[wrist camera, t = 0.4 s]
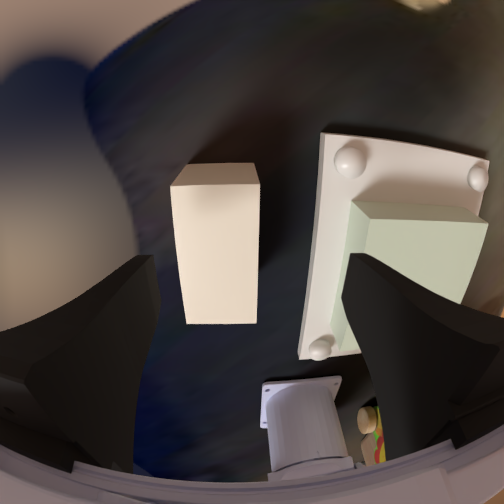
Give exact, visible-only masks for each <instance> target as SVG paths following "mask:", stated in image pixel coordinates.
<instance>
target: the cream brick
mask: <svg viewBox="0 0 504 504" xmlns="http://www.w3.org/2000/svg"><path fill="white" fill-rule="evenodd" d="M170 189H171V202H172V213H173V223H174V233H175V242H176V251H177V259H178V267H179V275H180V282H181V289H182V296H183V303H184V309H185V316H186V322H187V324H246V323H256V320H257V286H258V249H259V210H260V182H259V179H258V175H257V172H256V169H255V165H254V163H207V164H187V165H186V166H185V167H184V169H183V170H182V171H181V173H180V174H179V175H178V177H177V178H176V179H175V181H174V182H173V183H172V185H171V186H170Z"/></svg>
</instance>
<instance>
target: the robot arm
mask: <svg viewBox="0 0 504 504" xmlns="http://www.w3.org/2000/svg"><path fill="white" fill-rule="evenodd" d="M341 300H342V304H343V307H344V311H345V314H346V318H347V320H348V323H349V325H350V327H351V330H352V332H353V334H354V337H355V339H356V341H357V343H358V346H359V348H360V350H361V353H362V355H363V357H364V360H365V362H366V364H367V367H368V370H369V373H370V376H371V380H372V383H373V387H374V391H375V395H376V399H377V404H378V408H379V413H380V419H381V425H382V431H383V438H384V448H385V459H386V462H382V463H379V464H375V465H371V466H365V465H363V464H362V463H360V462H359V463H355V464H354V463H353V460H352V456H348V452H347V448H346V445H345V441H344V437H343V433H342V429H341V426H340V422H339V418H338V414H337V411H336V407H335V403H334V400H335V397H336V395H337V392H338V389H339V387H340V384H341V381H342V378H341V376H329V377H321V378H311V379H300V380H288V381H273V382H265V383H263V385H262V401H261V418H260V427H261V428H268V437H269V448H270V458H271V468H272V473H268V482H250V483H212V482H192V481H180V480H169V479H161V478H153V477H146V476H140V475H134V474H133V441H134V425H135V415H136V406H137V398H138V391H139V385H140V379H141V375H142V371H143V368H144V364H145V361H146V358H147V354H148V351H149V348H150V345H151V342H152V338H153V335H154V332H155V329H156V326H157V322H158V316H159V311H160V305H161V297H160V292H159V286H158V281H157V275H156V269H155V263H154V257H153V255H137V256H135V257H133V258H132V259H130V260H129V261H127V262H126V263H125V264H123V265H122V266H121V267H119V268H118V269H117V270H115V271H114V272H113V273H111V274H110V275H108V276H107V277H106V278H105V279H103V280H102V281H100V282H99V283H98V284H96V285H94V286H93V287H92V288H90V289H89V290H87V291H86V292H85V293H83V294H81V295H80V296H78V297H77V298H75V299H73V300H72V301H70V302H68V303H66V304H65V305H63V306H61V307H59V308H57V309H56V310H53V311H51V312H49V313H47V314H45V315H43V316H41V317H39V318H37V319H35V320H32V321H30V322H27V323H25V324H22V325H19V326H17V327H14V328H11V329H8V330H5V331H1V332H0V504H483V503H485V502H486V501H488V500H489V499H490V498H491V497H493V496H495V495H496V494H497V493H498V492H500V491H501V490H502V489H504V318H502V317H498V316H494V315H490V314H487V313H483V312H480V311H477V310H474V309H471V308H469V307H466V306H463V305H461V304H458V303H456V302H453V301H451V300H449V299H447V298H445V297H443V296H440V295H438V294H436V293H434V292H432V291H430V290H428V289H427V288H425V287H423V286H421V285H420V284H418V283H416V282H414V281H413V280H411V279H409V278H407V277H406V276H404V275H402V274H401V273H399V272H398V271H396V270H394V269H393V268H391V267H390V266H388V265H386V264H385V263H383V262H381V261H380V260H378V259H376V258H374V257H372V256H370V255H368V254H366V253H350V256H349V261H348V266H347V271H346V276H345V281H344V286H343V290H342V295H341Z"/></svg>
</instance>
